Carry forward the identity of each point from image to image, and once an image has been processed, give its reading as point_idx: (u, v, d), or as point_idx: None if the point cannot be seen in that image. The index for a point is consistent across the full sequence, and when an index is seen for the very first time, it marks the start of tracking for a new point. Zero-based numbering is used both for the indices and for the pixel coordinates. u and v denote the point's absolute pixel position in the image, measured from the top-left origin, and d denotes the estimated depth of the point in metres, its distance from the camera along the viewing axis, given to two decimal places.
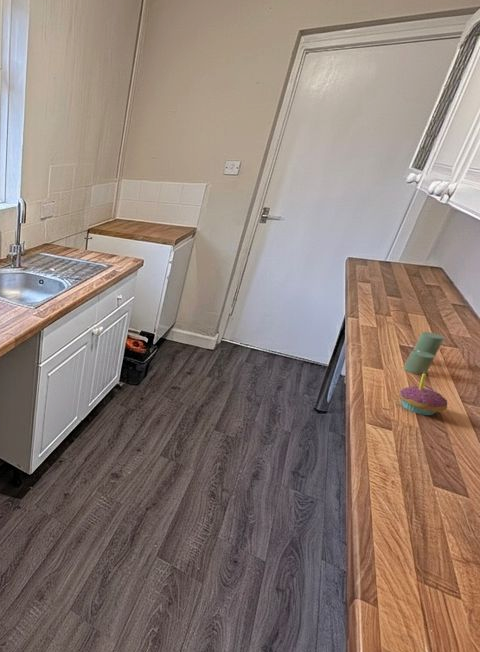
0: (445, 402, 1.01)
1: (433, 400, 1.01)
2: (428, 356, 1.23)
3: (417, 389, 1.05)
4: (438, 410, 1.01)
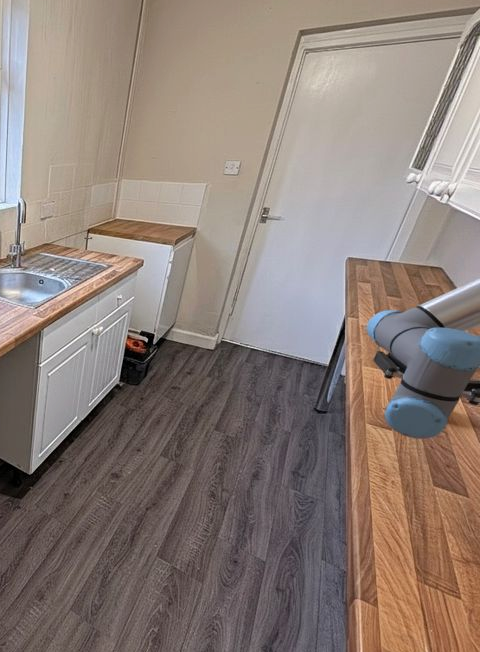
0: None
1: None
2: None
3: None
4: None
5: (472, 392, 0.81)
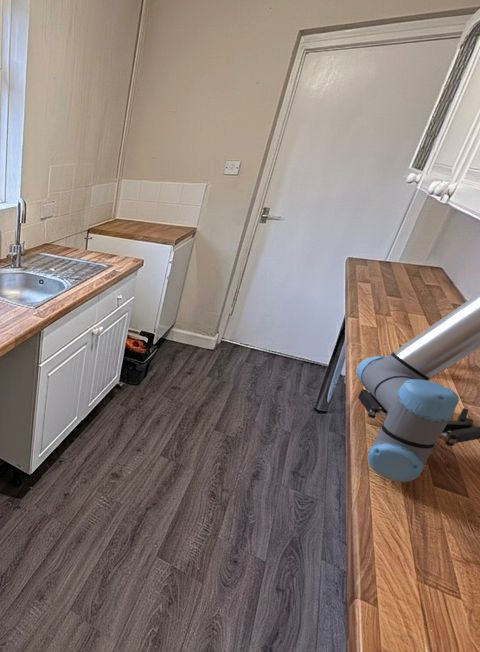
0: None
1: None
2: None
3: None
4: None
5: (448, 433, 0.88)
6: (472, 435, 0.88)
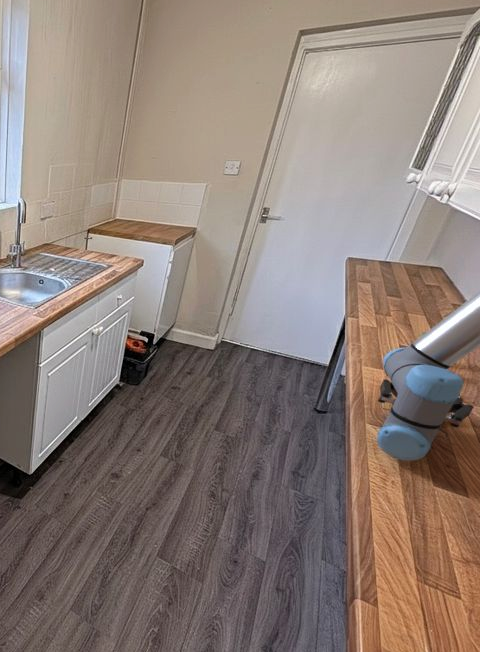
0: None
1: None
2: None
3: None
4: None
5: (452, 416, 0.93)
6: (467, 414, 0.95)
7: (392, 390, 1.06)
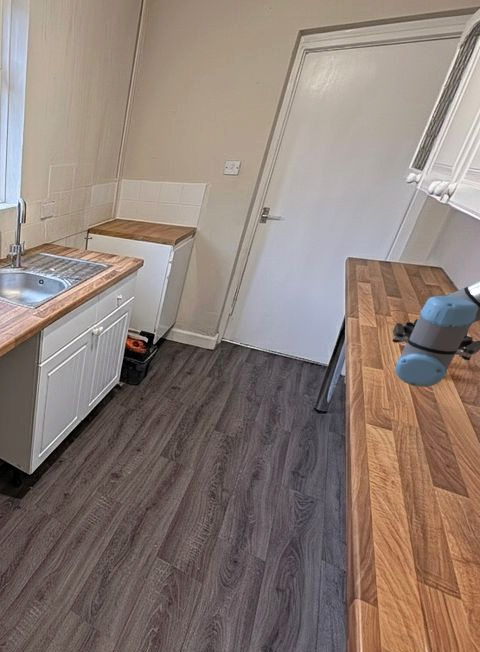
0: None
1: None
2: None
3: None
4: None
5: (464, 350, 0.99)
6: (477, 348, 1.00)
7: (405, 332, 1.11)
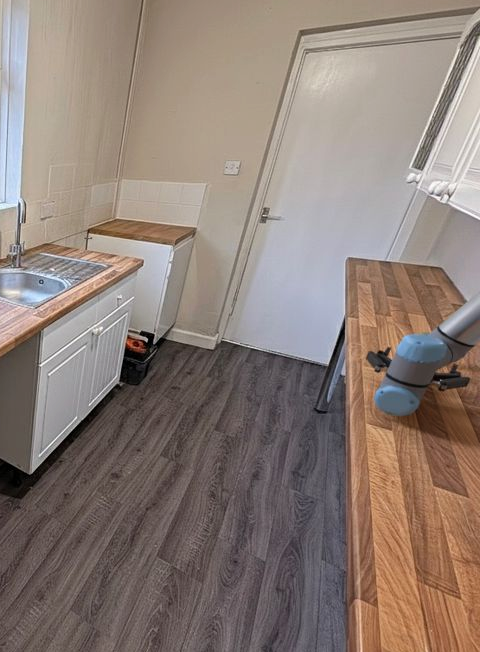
0: None
1: None
2: None
3: None
4: None
5: (440, 382, 1.07)
6: (460, 383, 1.07)
7: None
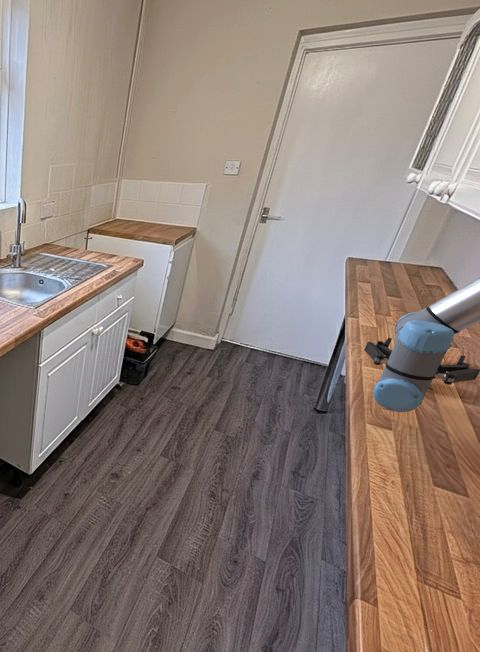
0: None
1: None
2: None
3: None
4: None
5: (446, 374, 0.97)
6: (468, 375, 0.97)
7: None
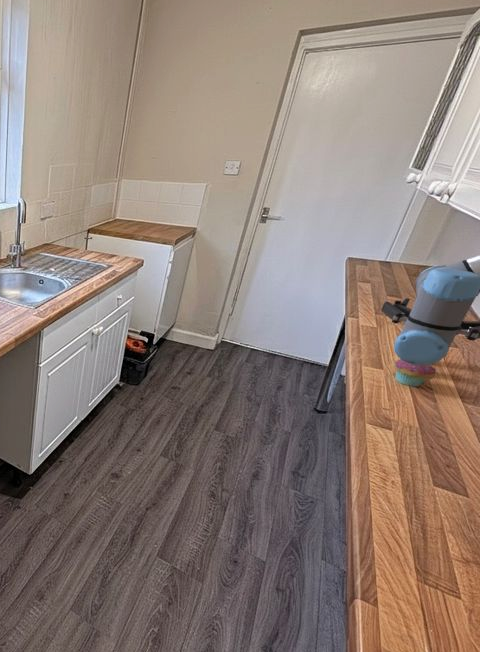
0: (434, 371, 1.15)
1: (423, 369, 1.15)
2: None
3: None
4: (427, 377, 1.15)
5: (469, 329, 0.92)
6: None
7: None
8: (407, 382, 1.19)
